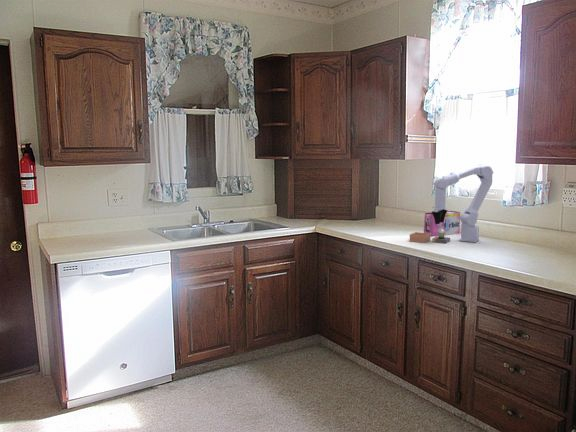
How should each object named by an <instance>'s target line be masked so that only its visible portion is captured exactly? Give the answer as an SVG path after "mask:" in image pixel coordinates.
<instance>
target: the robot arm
mask: <svg viewBox="0 0 576 432" xmlns="http://www.w3.org/2000/svg"><path fill="white" fill-rule="evenodd" d="M472 175H476V176H477V178H478V179H479V180H480V185H479V186H478V189H477V190H476V193H475V195H474V197H473V198H472V201H471V203H470V204H469V206H468V208H466V209H465V210H464V212H463V213H461V214H460V223H461V226H460V229H461V231H460V239H458V241H460V242H469V243H470V242H471V243H477V242H478V241H480V240H479V239H480V226H478V225H476V224H477V222H478V216H479V210H480V208H481V206H482V204H483V202H484V200H485V198H486V196H487V195H488V194H489V193H488V192H489V191H490V188H491V187H492V184H493V175H494V171H493V168H492V167H491V166H490V165H487V164H486V165H484V164H483V165H482V164H479V165H475V166H472V167H469V168H467V169H465V170H463V171H460V172H458V173H456V172H450V173H449V174H447V175H446V176H444V175H443V176H442V177H441V178H440V177H439V178H437V179H435V180H434V182H433V186H434V188H435V191H434V206H432V209H434V211H433V210H432V211H431V212H432V214H433V216H434V219H435V224H440V222H444V218H445V215H446V213H447V211H449V210H448V209H447V208H446V196H447V193H446V192H447V191H446V190H447V188H448V187H449V186H452V185H454V184H457V183H459V181H460V180H461V179H464V178H467V177H469V176H472Z"/></svg>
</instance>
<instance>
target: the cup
mask: <svg viewBox="0 0 576 432" xmlns="http://www.w3.org/2000/svg"><path fill="white" fill-rule="evenodd" d="M431 237H432V236H431V234H430V233H424V232H417V231H414V232H412V233H410V234H409V242H412V243H422V244H426V243H429V242H430V241H431Z"/></svg>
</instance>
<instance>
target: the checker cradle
mask: <svg viewBox="0 0 576 432" xmlns="http://www.w3.org/2000/svg"><path fill="white" fill-rule="evenodd" d="M431 242H432V243H439V244H448V243H449V242H451V237H449V236H448V237H446V236H444V239H438V236H433V237H432V239H431Z"/></svg>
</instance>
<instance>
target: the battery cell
mask: <svg viewBox="0 0 576 432" xmlns="http://www.w3.org/2000/svg"><path fill="white" fill-rule="evenodd" d="M444 231H445V230H444V229H442V228H441V229H439V232H438V236H437V237H438V239H444V237H445V235H444V233H445V232H444Z"/></svg>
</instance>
